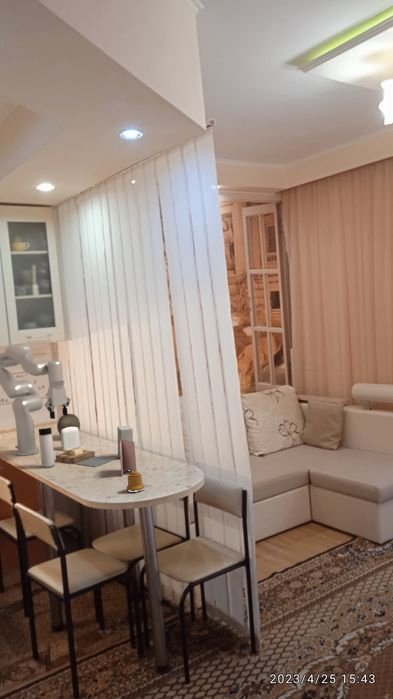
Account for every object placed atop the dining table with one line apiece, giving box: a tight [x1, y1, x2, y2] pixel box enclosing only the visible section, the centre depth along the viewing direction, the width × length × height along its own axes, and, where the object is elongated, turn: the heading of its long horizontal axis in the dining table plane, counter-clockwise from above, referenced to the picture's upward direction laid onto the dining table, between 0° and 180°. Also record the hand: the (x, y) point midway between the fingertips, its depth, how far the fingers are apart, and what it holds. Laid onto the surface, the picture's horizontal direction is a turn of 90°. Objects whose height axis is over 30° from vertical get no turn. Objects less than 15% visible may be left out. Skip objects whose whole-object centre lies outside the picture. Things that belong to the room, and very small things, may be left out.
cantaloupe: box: [56, 413, 81, 436], centre depth 355 cm, size 14×14×15 cm
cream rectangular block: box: [63, 447, 84, 455], centre depth 305 cm, size 8×6×2 cm
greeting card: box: [120, 439, 138, 475], centre depth 273 cm, size 11×7×15 cm, turn 4°
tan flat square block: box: [55, 449, 95, 465], centre depth 305 cm, size 14×14×3 cm
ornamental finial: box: [126, 471, 145, 491], centre depth 246 cm, size 8×8×8 cm
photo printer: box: [60, 427, 81, 451], centre depth 328 cm, size 10×4×12 cm, turn 123°
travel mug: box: [38, 427, 56, 469], centre depth 293 cm, size 6×7×20 cm
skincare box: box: [116, 425, 134, 459], centre depth 301 cm, size 8×7×16 cm
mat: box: [74, 456, 116, 468], centre depth 296 cm, size 14×14×1 cm
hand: (59, 416), depth 309 cm, fingers open, 8 cm apart
